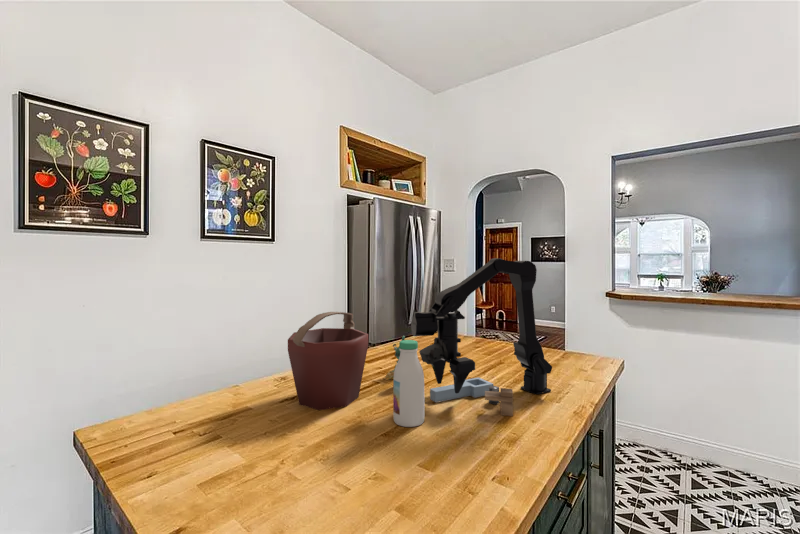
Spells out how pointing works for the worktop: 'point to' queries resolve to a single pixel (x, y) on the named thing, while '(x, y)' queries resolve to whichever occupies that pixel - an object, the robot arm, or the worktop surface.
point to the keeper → (502, 400)
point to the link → (469, 388)
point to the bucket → (327, 363)
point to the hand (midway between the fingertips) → (447, 388)
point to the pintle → (495, 389)
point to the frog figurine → (391, 372)
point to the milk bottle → (408, 387)
